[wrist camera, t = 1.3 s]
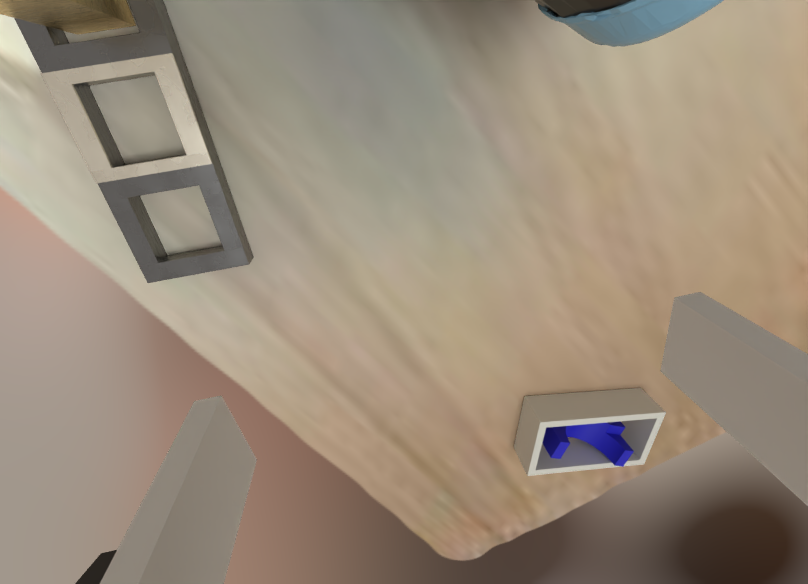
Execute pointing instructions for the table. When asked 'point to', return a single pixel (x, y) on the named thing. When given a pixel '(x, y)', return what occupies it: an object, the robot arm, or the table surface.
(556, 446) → the blue arch block
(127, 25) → the brass peg
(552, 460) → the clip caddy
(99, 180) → the grey peg hole board
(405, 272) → the table surface
